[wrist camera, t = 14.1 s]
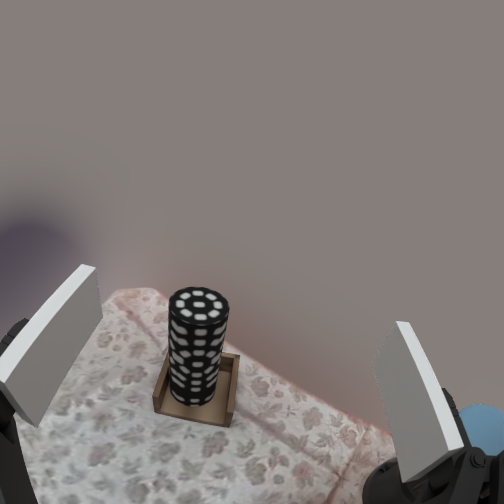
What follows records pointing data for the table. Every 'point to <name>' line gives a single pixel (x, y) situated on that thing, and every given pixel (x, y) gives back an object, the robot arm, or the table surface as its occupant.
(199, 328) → the white-spotted black cylinder
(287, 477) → the table surface
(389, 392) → the robot arm
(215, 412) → the tray
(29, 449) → the table surface
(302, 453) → the table surface
